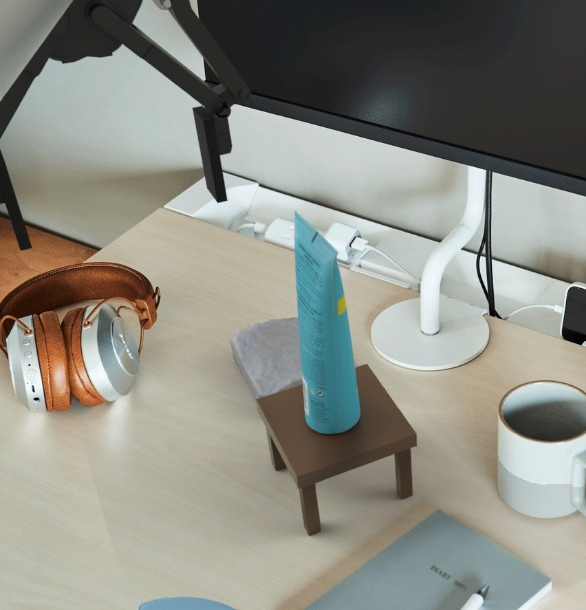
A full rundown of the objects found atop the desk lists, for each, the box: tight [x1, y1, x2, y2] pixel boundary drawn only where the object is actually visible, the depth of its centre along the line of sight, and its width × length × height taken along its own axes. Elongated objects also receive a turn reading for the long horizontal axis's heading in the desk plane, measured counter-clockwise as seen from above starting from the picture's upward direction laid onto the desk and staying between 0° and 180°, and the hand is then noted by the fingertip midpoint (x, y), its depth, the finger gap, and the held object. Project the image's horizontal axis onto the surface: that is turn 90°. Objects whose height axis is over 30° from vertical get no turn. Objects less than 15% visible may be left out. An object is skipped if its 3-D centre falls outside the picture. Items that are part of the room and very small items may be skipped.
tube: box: [293, 210, 360, 434], centre depth 77 cm, size 7×5×19 cm, turn 39°
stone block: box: [229, 316, 303, 400], centre depth 98 cm, size 12×5×10 cm
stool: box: [255, 363, 418, 537], centre depth 85 cm, size 11×11×8 cm
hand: (124, 217), depth 66 cm, fingers open, 13 cm apart
